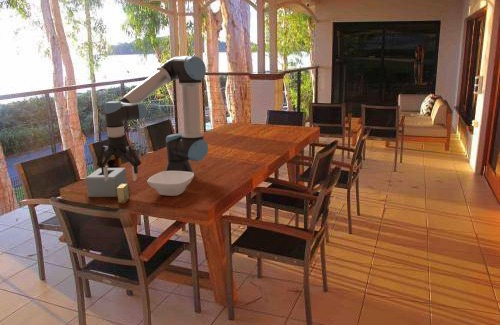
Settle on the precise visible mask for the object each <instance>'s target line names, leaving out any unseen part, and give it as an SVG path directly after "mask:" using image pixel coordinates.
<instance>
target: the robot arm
mask: <svg viewBox="0 0 500 325" xmlns="http://www.w3.org/2000/svg"><path fill="white" fill-rule="evenodd" d="M206 72H207V67H206V63H205V61H203V59H201V57H199V56H196V55H176V56H173V57H171V58H169V59H168V60H167V61H165V62H163V63H162V64H160V66H158V67H157V68H156V71H155V72H154V73H152V74H150V76H148V77H147V78H146V79H144V80H143V81H141V83H139V84H138V85H137V86H135V87H134V88H133V89H132V90H130V91H128V92H127V93H126V94H125V95H123V96H122V97H121V98H119V99H118V100H113V101H110V100H109V101H106V102H105V103H104V106H103V107H104V116H105V117H104V118H105V125H106V126H105V127H106V135H107V136H108V137H107V144H108V145H103V146H102V147H101V152H100V154H99V158H98V160H97V163H96V166H97V167H99V168H101V169H102V174H104V179H105V181H107V180H108V170H107V166H105V165H106V164H107V162H108V161H109V160H110V158H111V157H112V156H120V157H123V158H125V160H127V161H128V163H130V164H131V171H132V172H131V173H132V181H133V182H135V181H136V180H138V178H137V174H138V173H139V170H138V167H140V166H141V164H142V162H141V160H140V158H139V157H138V155H137V154H136V152H135V150H134V146H133V144H131V145H126V136H125V126H124V123H125V122H127V121H137V120H142V119H145V118H146V116H147V113H148V112H147V111H148V110H147V106H146V104H144V103H143V101H145V100H146V99H147V98H149V97H150V96H151V95H152V94H154V93H155V92H156V91H158V90H159V89H160V88H161V87H163V86H164V85H165V84H170V83H171V82H173V81H175V80H178V84H179V85H180V86H181V88H182V91H181V92H182V93H181V94H182V110H183V111H182V112H183V113H182V114H183V132H182V133H180V132H179V133H174V134H169V135H167V136H166V137H165V147H166V155H167V163H166V164H167V165H166V169H165V171H186V172H193V173H194V169H193V167H192V164H191V162H190V161H192V162H200V161H203V159H205V157H206V156H207V155H208V152H209V145H208V143H207V141H206V140H205V139H204V137H205V135H204V134H203V132H202V131H201V112H200V111H201V110H200V85H201V84H202V79H203V78H204V77H205V76H206V74H207V73H206ZM107 151H109V153H108V154H107V156H106V153H107ZM127 151H128V152H129V154H128V152H127ZM104 157H107V158H106V159H105V160H104V162H103V158H104Z"/></svg>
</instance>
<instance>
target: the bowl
mask: <svg viewBox="0 0 500 325" xmlns="http://www.w3.org/2000/svg"><path fill="white" fill-rule="evenodd" d="M194 177H195V172H194V171H193V172H186V171H166V170H163V171H160V172H157V173H156V174H153V175H151V176H150V177H149V178H148V179H147V180H146V183H147V184H148V185H149V187H151V188H153V189H154V190H156V192H157V193H158V194H159V195H160V196H167V197H168V196H169V197H170V196H173V197H175V196H179V195H181V194H183V193H184V192H185V190H186V189H187V187H188V186H189V185H190V183H191V182H192V181H193V178H194Z"/></svg>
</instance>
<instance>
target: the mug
mask: <svg viewBox="0 0 500 325" xmlns="http://www.w3.org/2000/svg"><path fill="white" fill-rule="evenodd" d="M106 158H107V156H104V158H103V161H102V163H103V162H104V160H105V159H106ZM121 158H122V156H118V155H117V156H114V155H113V156H112V157H111V158H110V160H109V161H108V162H107V164H106V165H105V166H107V168H123V167H122V159H121Z"/></svg>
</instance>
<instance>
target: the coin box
mask: <svg viewBox="0 0 500 325" xmlns="http://www.w3.org/2000/svg"><path fill="white" fill-rule="evenodd" d="M107 170H108V180H107V181H105V179H104V174H102V169H101V167H99V168H97V169H95V171H93V172H91V173H90V174H89V175H87V176H86V177H85V181H86V186H87V187H86V188H87V194H88V198H97V197H99V198H101V197H103V198H105V197H108V198H111V197H118V194H117V187H118V186H120V185H121V184H128V179H127V178H128V177H127V169H126V167H122V168H107Z"/></svg>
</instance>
